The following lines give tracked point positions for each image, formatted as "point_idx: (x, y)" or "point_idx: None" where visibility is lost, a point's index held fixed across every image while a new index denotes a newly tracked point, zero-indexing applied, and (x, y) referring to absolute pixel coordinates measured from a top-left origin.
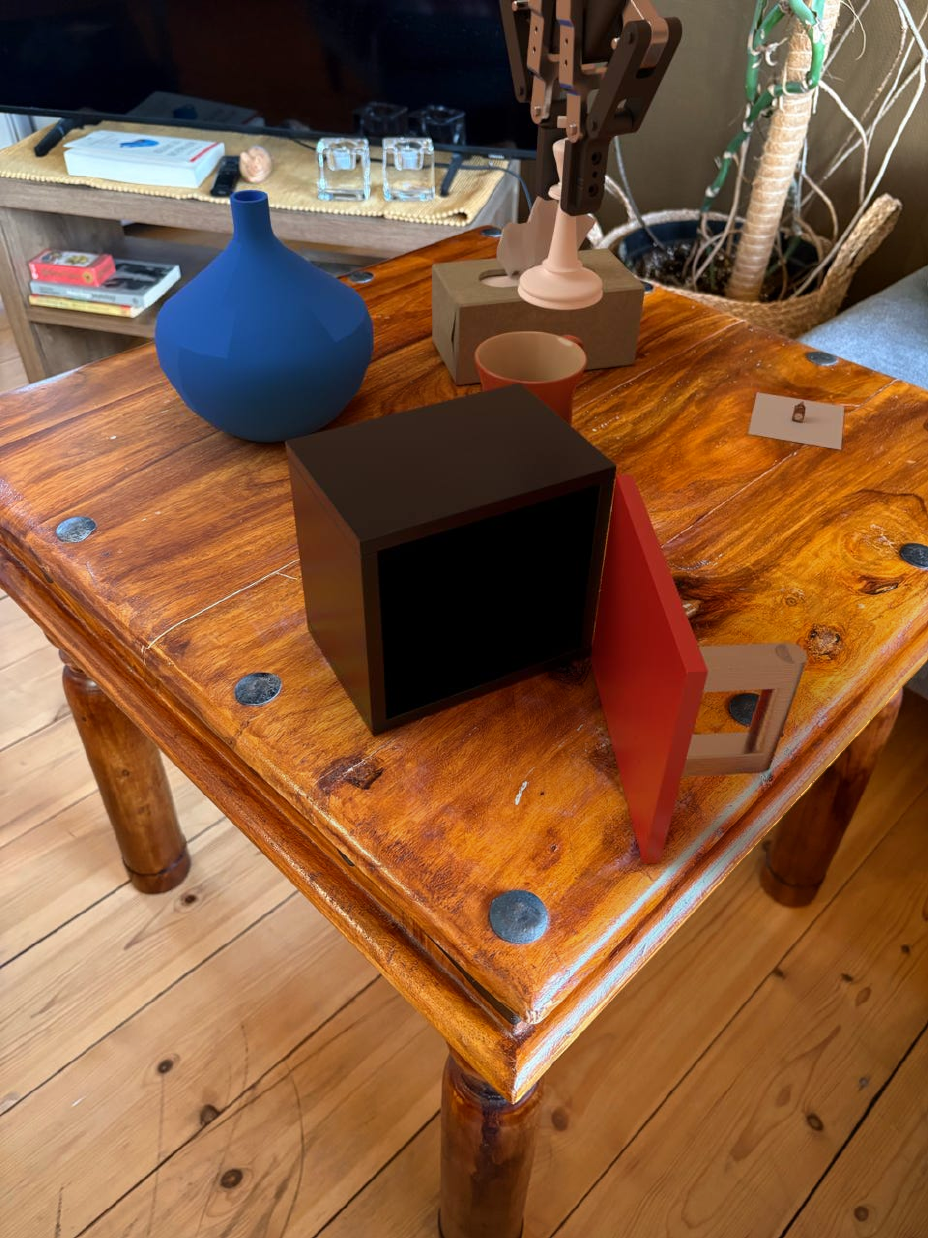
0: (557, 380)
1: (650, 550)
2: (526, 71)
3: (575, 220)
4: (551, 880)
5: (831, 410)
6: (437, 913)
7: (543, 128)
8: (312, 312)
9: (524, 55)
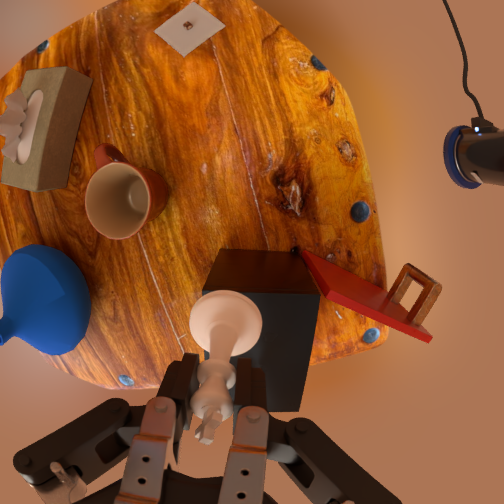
0: (150, 203)
1: (381, 319)
2: (125, 454)
3: (226, 354)
4: (369, 322)
5: (192, 8)
6: (356, 353)
7: (184, 429)
8: (49, 304)
9: (112, 463)
